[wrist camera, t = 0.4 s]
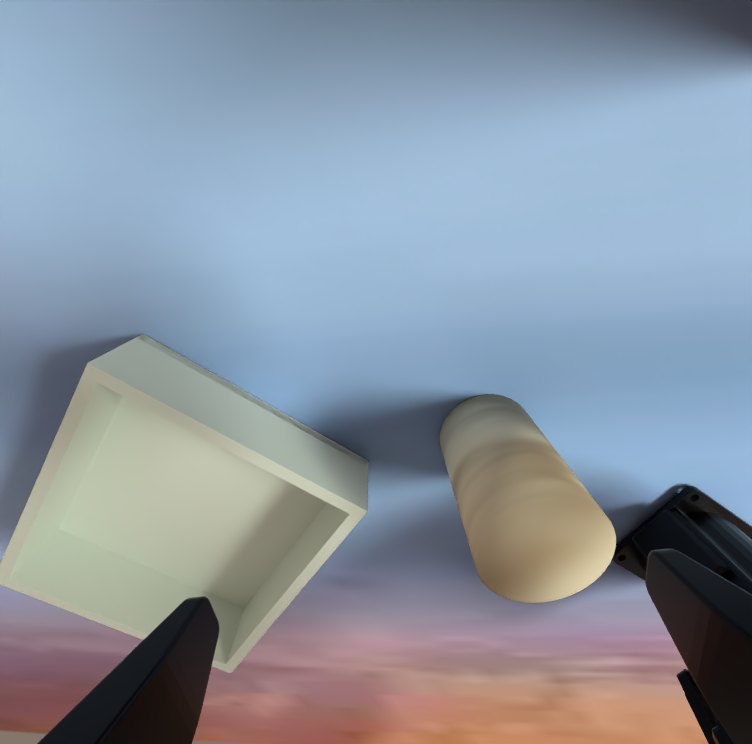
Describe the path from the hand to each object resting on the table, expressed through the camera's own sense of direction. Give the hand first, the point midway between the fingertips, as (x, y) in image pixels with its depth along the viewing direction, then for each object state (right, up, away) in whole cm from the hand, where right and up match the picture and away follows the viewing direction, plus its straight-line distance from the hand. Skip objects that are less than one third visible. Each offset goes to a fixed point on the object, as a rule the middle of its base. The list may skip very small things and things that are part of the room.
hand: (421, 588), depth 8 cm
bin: (-11, -3, +15) cm, 18 cm away
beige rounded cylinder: (+5, +1, +13) cm, 14 cm away
